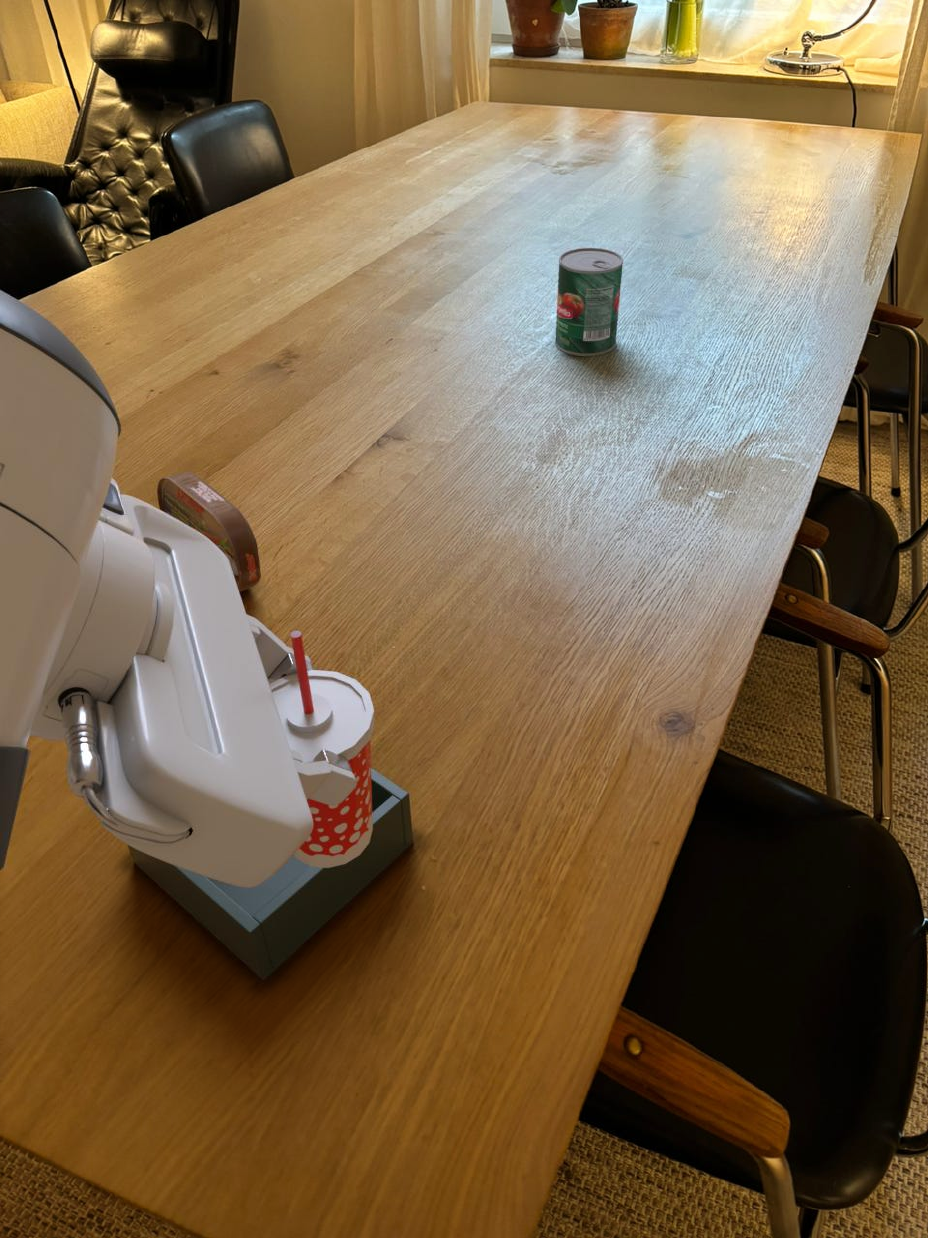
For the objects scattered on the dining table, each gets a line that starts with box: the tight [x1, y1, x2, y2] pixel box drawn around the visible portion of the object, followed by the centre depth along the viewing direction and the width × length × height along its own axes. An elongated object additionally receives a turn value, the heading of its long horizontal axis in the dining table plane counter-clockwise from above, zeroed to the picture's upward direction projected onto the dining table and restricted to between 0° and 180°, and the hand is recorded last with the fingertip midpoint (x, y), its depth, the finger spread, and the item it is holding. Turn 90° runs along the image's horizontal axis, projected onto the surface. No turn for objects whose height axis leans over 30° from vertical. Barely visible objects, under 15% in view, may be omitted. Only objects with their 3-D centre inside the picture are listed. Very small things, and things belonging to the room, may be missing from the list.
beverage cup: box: [269, 630, 376, 868], centre depth 48 cm, size 6×6×14 cm
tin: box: [156, 471, 262, 593], centre depth 91 cm, size 15×3×8 cm, turn 40°
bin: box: [126, 767, 414, 981], centre depth 67 cm, size 14×14×5 cm
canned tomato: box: [554, 247, 624, 357], centre depth 125 cm, size 8×8×11 cm
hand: (324, 727), depth 48 cm, fingers closed on beverage cup, 6 cm apart
